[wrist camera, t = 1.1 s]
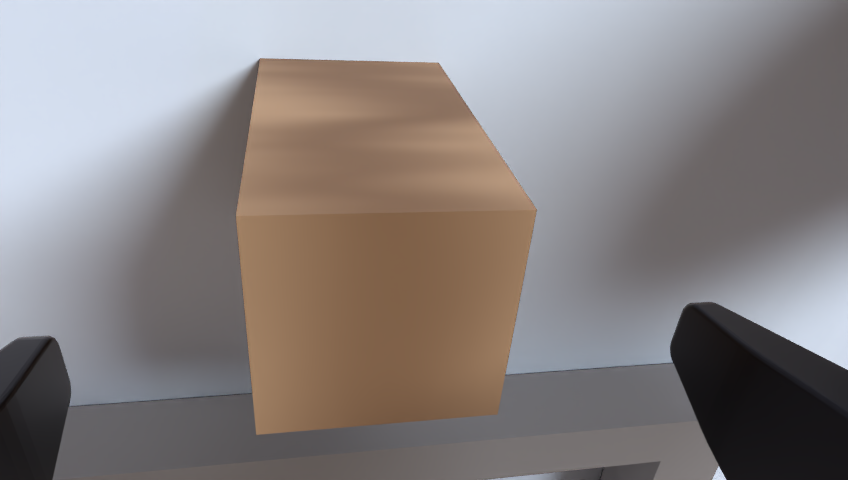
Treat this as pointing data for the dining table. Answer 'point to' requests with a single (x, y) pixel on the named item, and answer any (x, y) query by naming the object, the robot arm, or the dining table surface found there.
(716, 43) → the dining table surface
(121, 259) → the dining table surface
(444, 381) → the plug
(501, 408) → the socket plate
